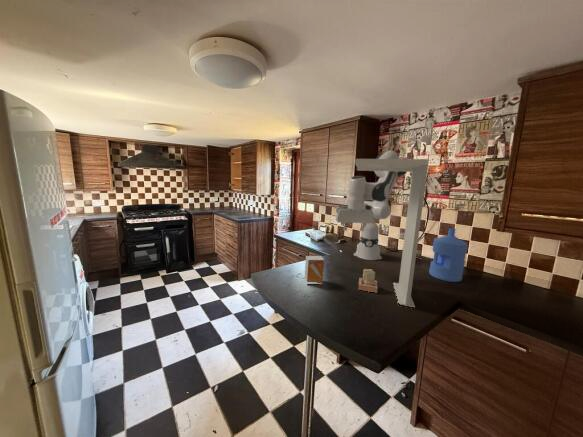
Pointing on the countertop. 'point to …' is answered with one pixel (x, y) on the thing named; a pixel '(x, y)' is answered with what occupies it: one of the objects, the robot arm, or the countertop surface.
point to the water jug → (448, 257)
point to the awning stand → (413, 216)
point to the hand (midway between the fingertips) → (353, 230)
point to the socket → (367, 286)
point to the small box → (314, 269)
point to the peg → (368, 277)
